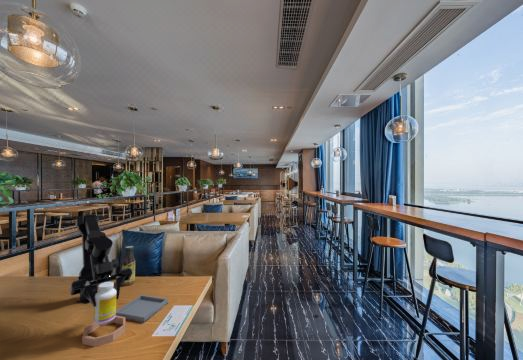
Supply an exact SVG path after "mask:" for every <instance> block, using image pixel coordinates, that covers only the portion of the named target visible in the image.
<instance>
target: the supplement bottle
mask: <svg viewBox="0 0 523 360" xmlns="http://www.w3.org/2000/svg"><path fill="white" fill-rule="evenodd" d="M116 295H117V291H116V290H115V282H114V281H109V282H104V283H101V284H100V285H97V293H96V294H95V303H96V306H95V307H94V306H93V307H94V308H93V323H94V322H95V323H96V324H105V323H108V322H110V321H112V320H113V319H114V318H115V316H116V311H117V299H116Z"/></svg>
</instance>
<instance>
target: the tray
mask: <svg viewBox="0 0 523 360" xmlns="http://www.w3.org/2000/svg"><path fill="white" fill-rule="evenodd" d="M167 304H169V298H165V297H158V296H154V295H153V296H152V295H146V294H140V295H138V296H137V297H135V298H134V299H132V300H131V301H129V302H128V303H126V304H124V305H123V306H121V307H120V308H119V309H116V316H121V317H126V320H128V321H135V322H139V323H146V322H147V321H149V320H150V319H151V318H152V317H154V316H155V315H156V314H157V313H158V312H159V311H160V310H162V309H163V308H165V306H167Z"/></svg>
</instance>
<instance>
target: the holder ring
mask: <svg viewBox="0 0 523 360" xmlns="http://www.w3.org/2000/svg"><path fill="white" fill-rule="evenodd" d="M126 320H127V319H126V317H121V316H115V318H114V319H113V320H112V321H110V322H108V323H105V324H96V323H95V322H94V321H93V322H92V323H90V324H89V325H88V326H86V327H84V329H83V334H82V338H81V339H82V341H81V342H82V343H81V344H82V345H86V346H88V347H89V346H90V347H94V348H96V347H98V346H99V347H100V346H101V345H105V344H109V343H111V342H114V341H116V340H117V339H118V338H119V337H120V336H122V335H123V334H124V333H125V332H126ZM111 324H112V325H113V324H117V325H121V326H120V327H118V328H116V330H114V331H113V332H110V333H107V334H104V335H99V336H95V337H94V336H90V335H89V334H91V333H93V331H95V330H97V329H98V328H100V327H104V326H107V325H111Z"/></svg>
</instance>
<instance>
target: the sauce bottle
mask: <svg viewBox="0 0 523 360" xmlns="http://www.w3.org/2000/svg"><path fill="white" fill-rule="evenodd" d="M134 249H135V247H134V246H133V245H129V246H125V247H124V250H125V252H124V254H125V255H124V257H123V258H122V262H121V263H122V265H121V270H122V269H126V268H130V269H132V275H131V277H130V279H129V280H126V281H124V282H123V283H122V284H121V286H125V287H127V286H130V285H133V284H134V283H135V279H136V258H135V255H134Z"/></svg>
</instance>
